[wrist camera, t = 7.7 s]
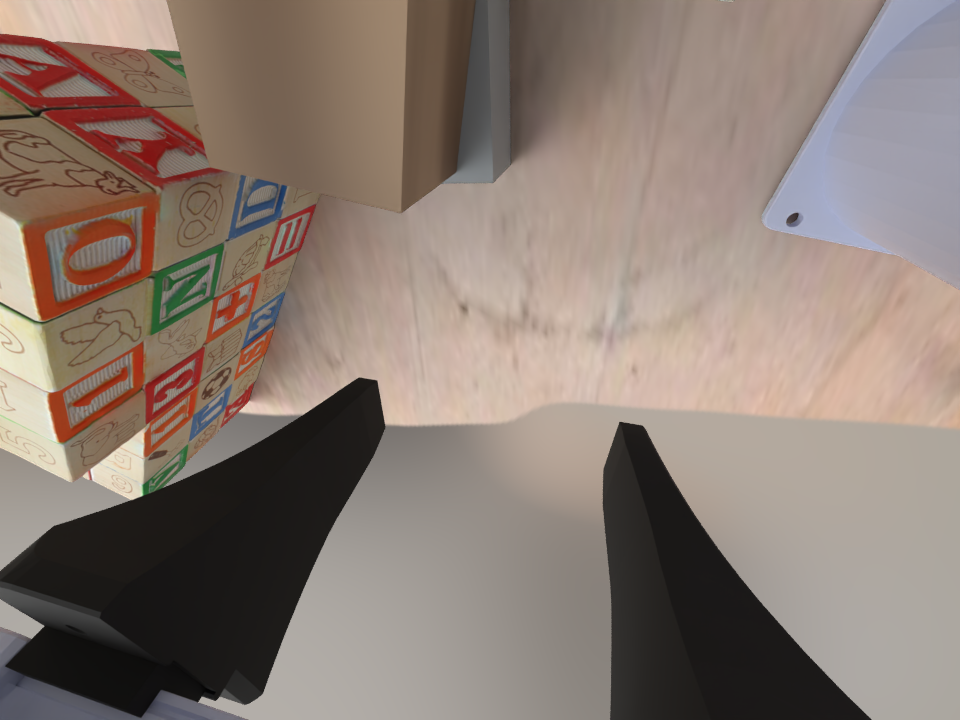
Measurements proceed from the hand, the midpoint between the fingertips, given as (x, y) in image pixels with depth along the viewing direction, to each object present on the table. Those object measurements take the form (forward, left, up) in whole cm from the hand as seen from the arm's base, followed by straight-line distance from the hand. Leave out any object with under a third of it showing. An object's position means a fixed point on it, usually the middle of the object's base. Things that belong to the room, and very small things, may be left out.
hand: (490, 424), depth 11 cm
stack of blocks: (+17, +4, -10) cm, 20 cm away
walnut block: (+6, -8, -6) cm, 11 cm away
